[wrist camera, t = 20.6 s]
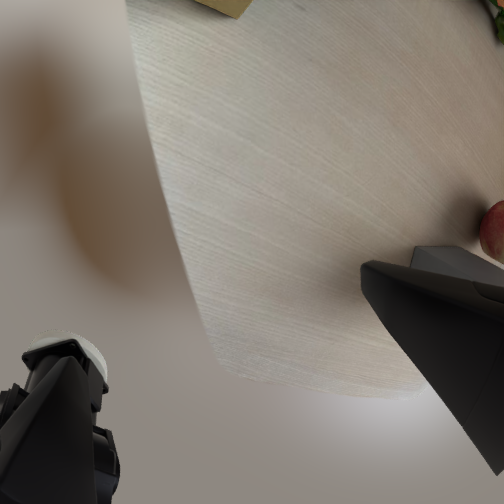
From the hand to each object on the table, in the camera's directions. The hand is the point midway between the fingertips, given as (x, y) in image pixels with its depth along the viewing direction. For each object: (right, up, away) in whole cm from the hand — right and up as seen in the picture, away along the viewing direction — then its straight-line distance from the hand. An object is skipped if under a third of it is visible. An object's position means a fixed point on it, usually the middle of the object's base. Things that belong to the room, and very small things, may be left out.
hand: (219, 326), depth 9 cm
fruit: (+28, +6, +22) cm, 36 cm away
